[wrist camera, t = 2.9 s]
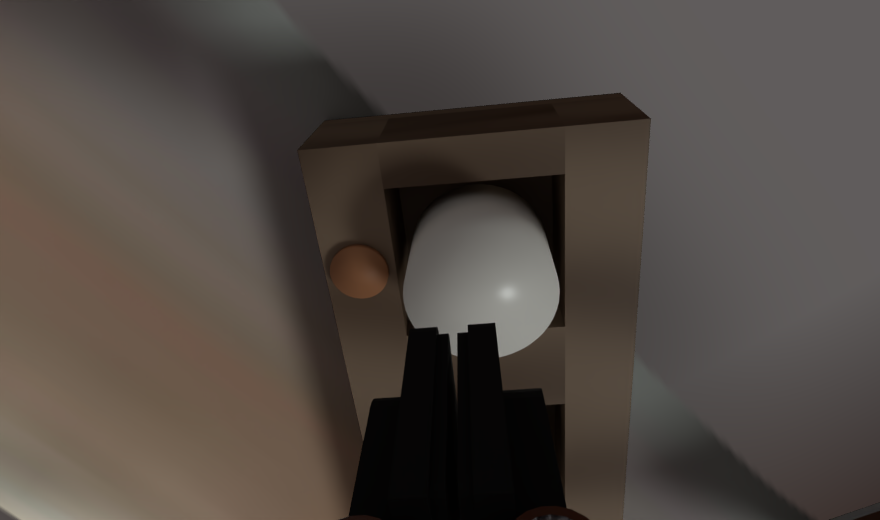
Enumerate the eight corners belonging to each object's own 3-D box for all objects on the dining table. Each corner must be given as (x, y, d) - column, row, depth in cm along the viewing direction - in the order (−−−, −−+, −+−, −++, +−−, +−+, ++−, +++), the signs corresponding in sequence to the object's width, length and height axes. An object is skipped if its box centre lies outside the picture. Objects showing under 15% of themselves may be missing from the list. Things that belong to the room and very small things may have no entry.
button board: (324, 120, 17) (295, 152, 14) (620, 92, 16) (652, 120, 13) (415, 580, 27) (409, 652, 24) (599, 576, 26) (614, 651, 23)
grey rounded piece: (404, 190, 15) (392, 231, 13) (544, 178, 15) (559, 219, 13) (420, 307, 17) (413, 363, 15) (546, 299, 17) (560, 354, 14)
